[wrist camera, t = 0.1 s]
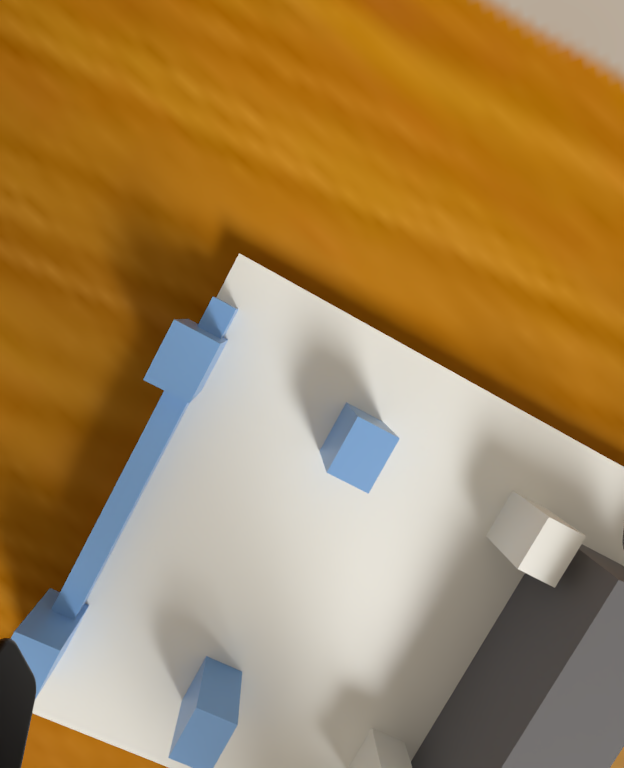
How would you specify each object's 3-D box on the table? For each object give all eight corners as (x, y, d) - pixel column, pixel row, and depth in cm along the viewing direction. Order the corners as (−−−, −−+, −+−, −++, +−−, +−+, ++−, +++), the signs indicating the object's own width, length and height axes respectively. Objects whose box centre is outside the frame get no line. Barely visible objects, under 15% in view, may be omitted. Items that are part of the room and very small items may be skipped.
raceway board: (465, 863, 27) (500, 965, 22) (8, 678, 23) (-50, 757, 19) (690, 505, 25) (774, 544, 21) (228, 249, 21) (217, 234, 17)
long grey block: (471, 806, 25) (514, 915, 20) (401, 777, 24) (430, 881, 20) (621, 565, 23) (703, 623, 19) (552, 528, 23) (618, 579, 19)
